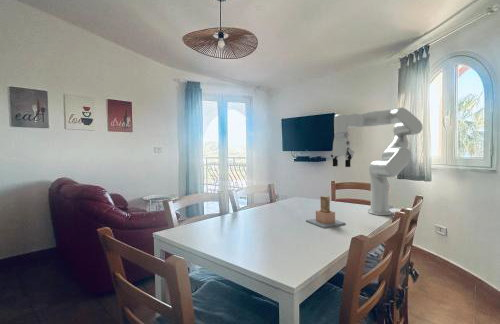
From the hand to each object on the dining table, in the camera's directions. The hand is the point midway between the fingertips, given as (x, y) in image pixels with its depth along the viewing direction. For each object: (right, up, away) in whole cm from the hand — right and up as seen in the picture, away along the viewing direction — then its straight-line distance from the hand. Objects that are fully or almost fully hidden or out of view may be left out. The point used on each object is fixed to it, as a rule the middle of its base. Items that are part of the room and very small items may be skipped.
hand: (341, 166), depth 149 cm
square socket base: (-13, -29, -13) cm, 34 cm away
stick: (-13, -27, -13) cm, 33 cm away
